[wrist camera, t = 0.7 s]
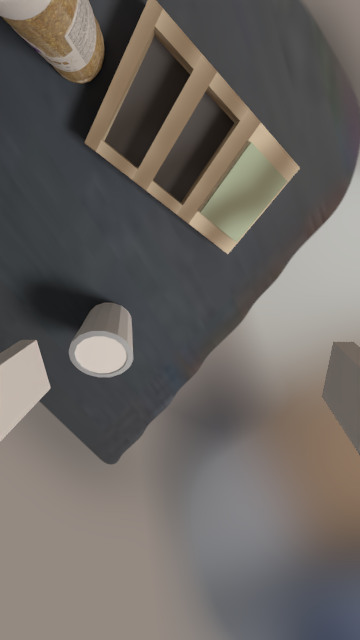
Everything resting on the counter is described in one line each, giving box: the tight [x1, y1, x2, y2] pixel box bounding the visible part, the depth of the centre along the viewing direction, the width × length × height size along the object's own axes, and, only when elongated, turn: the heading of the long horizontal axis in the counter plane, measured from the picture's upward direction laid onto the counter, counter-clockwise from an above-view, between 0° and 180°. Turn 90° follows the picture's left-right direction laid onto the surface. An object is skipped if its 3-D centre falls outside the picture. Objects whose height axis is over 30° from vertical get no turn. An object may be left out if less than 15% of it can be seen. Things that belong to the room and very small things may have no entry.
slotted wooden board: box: [85, 0, 300, 254], centre depth 22 cm, size 16×10×2 cm, turn 53°
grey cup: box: [69, 303, 133, 377], centre depth 30 cm, size 7×7×7 cm
